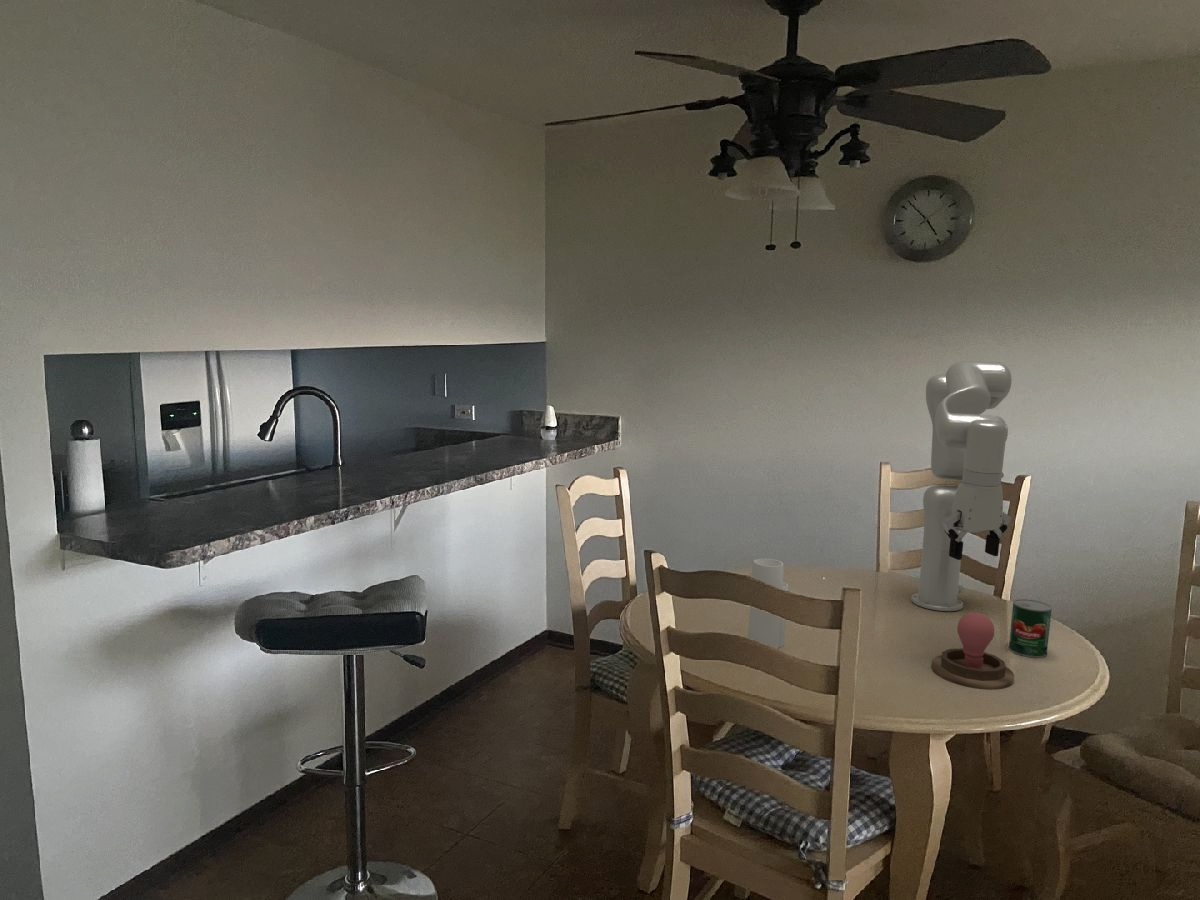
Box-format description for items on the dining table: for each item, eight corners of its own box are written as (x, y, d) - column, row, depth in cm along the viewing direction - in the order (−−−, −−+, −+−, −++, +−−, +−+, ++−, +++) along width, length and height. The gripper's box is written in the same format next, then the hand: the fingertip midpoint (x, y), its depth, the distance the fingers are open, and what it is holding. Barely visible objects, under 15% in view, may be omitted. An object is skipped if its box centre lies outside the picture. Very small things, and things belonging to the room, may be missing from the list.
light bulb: (948, 667, 183) (953, 612, 182) (961, 658, 189) (966, 605, 187) (983, 677, 179) (988, 621, 177) (995, 668, 184) (1001, 613, 182)
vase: (774, 658, 188) (780, 568, 185) (741, 652, 191) (746, 563, 188) (786, 642, 198) (792, 556, 195) (755, 636, 201) (760, 551, 198)
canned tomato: (1038, 646, 201) (1043, 600, 199) (1052, 659, 193) (1058, 611, 191) (1002, 643, 202) (1007, 597, 200) (1015, 656, 194) (1020, 609, 192)
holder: (955, 652, 195) (956, 640, 194) (1027, 676, 182) (1029, 663, 182) (916, 669, 185) (917, 655, 184) (990, 695, 172) (991, 681, 172)
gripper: (1000, 472, 191) (992, 548, 194) (936, 476, 185) (928, 554, 188) (1027, 480, 184) (1018, 558, 187) (961, 484, 178) (953, 564, 182)
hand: (973, 556), depth 188 cm, fingers open, 9 cm apart
